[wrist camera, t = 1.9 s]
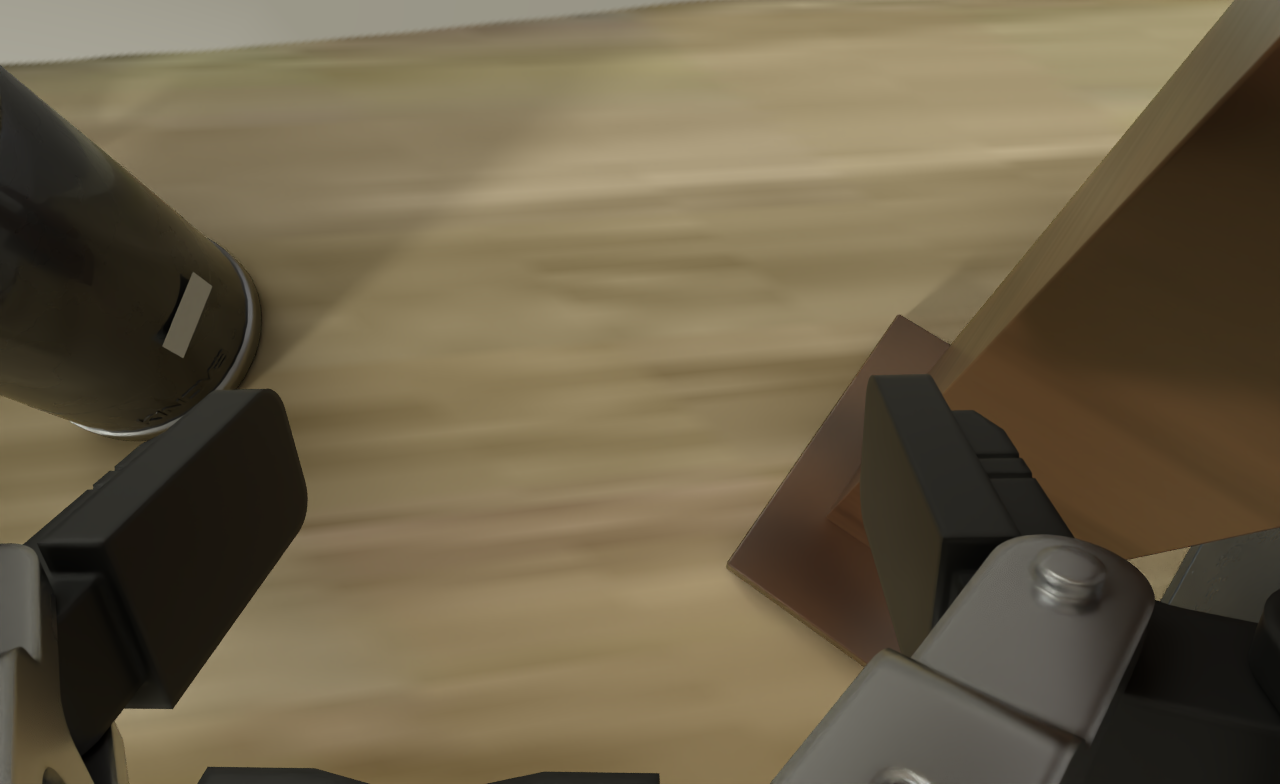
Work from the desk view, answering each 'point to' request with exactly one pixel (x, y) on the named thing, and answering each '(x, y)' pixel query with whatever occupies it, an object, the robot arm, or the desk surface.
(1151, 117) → the stand
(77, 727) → the robot arm
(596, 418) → the desk surface
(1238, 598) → the bin
